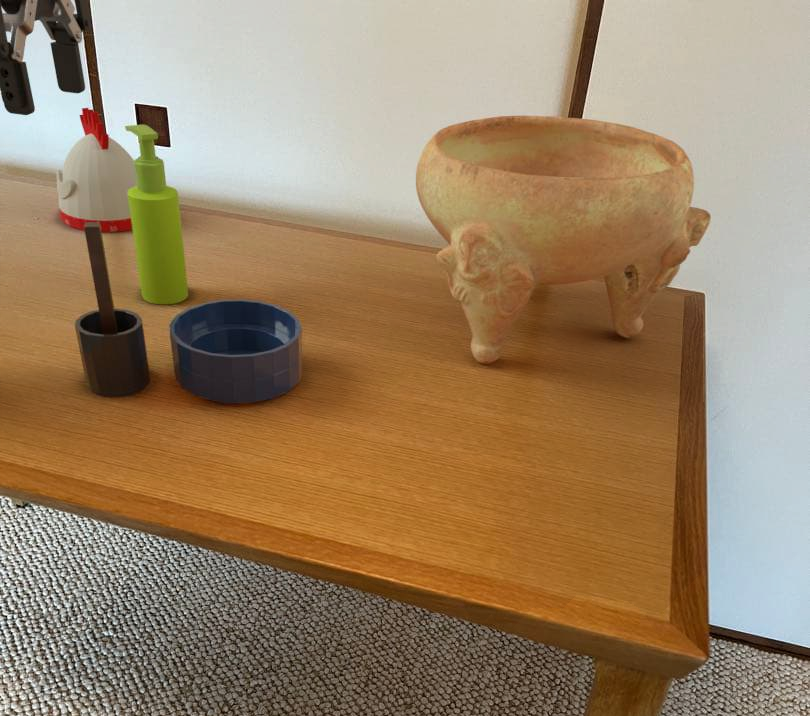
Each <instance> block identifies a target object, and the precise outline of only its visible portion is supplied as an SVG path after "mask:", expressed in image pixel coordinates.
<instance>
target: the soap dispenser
mask: <svg viewBox="0 0 810 716" xmlns="http://www.w3.org/2000/svg"><path fill="white" fill-rule="evenodd" d="M124 129H125V131H126V132H131V133H132V134H134V135H135V136H137V138H138V145H139V154H140V156H138V157H137V158H135V159H134V165H135V173H136V180H137V186H135V187H133V188H130V189H129V190H128V192H127V194H128V201H129V208H130V215H131V222H132V235H133V243H134V249H135V256H136V263H137V270H138V271H137V272H138V279H139V285H140V292H141V298H142V299H143V300H144V301H146V302H147V303H149V304H154V305H174V304H178V303H182V302H184V301H185V300H186V299H187V298H188V297H189V288H188V287H189V286H188V279H187V268H186V260H185V259H186V258H185V249H184V240H183V230H182V229H183V228H182V221H181V211H180V203H179V202H180V201H179V192H178V190H177V189H176V188H175V187H172V186H170V185H167V178H166V171H165V169H166V168H165V163H164V159H162V158H160V157H159V156H157V155H156V146H155V140H159V134H158V132H157V131H155V130H154V129H153V128H151V126H149V125H147V124H134V125H132V124H131V125H125V126H124Z"/></svg>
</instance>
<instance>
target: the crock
mask: <svg viewBox="0 0 810 716" xmlns="http://www.w3.org/2000/svg"><path fill="white" fill-rule="evenodd" d="M114 310H115V316H116V322H117V328H118V333H116V334H103V331H102V325H101V320H100V314H99V309H95V310H91V311H89V312H86V313H83V314H81V315H80V316H79V317H78V318H76V320H75V321H74V322H75V323H74V329H75V334H76V340H77V344H78V349H79V354H80V358H81V359H80V360H81V365H82V368H83V369H82V370H83V372H84V378H85V382H86V385H87V388H88V389H89V390H90V391H91V392H92V393H93V394H96V395H98V396H102V397H108V398H109V397H110V398H119V397H128V396H131V395H136V394H137V393H141V392H143V391H144V390H145V389H147V387H149V385H150V384H151V371H150V366H149V359H148V352H147V351H148V350H147V343H146V338H145V337H146V336H145V330H144V322H143V317H141V315H139V314H138V313H137V312H135V311H131V310H129V309H123V308H116V307H114Z"/></svg>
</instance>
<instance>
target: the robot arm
mask: <svg viewBox="0 0 810 716" xmlns="http://www.w3.org/2000/svg"><path fill="white" fill-rule="evenodd" d="M73 1H74V4H73V2H72V0H0V95H1V99H2V102H3V105H4V109H5V110H6V111H7V112H8V113H9V114H12V115H13V114H14V115H22V116H29V115H31V114H33V113H34V112H35V111H36V106H35V102H34V97H33V91H32V87H31V81H30V77H29V72H28V67H27V61H23V60H24V56H25V47H26V41H27V40H26V39H27V37H28V36H29V35H31V34H32V33H33V32H34V27H35V22H36V21H39V22H40V23H41V24H42V26H43V27H44V29H45V31H46V33H47V35H48V36H49V38H50V40H52V41H51V42H50V48H51V54H52V60H53V65H54V71H55V76H56V82H57V87H58V89H59V90H60V91H61V92H64V93H70V94H81V93H83V92H84V91H86V82H85V77H84V71H83V65H82V64H83V63H82V59H81V58H82V57H81V53H80V52H81V51H80V46H79V44H81V43H82V41H83V32H90V30H91V27H92V25H91V24H92V23H91V18H90V13H89V7H88V1H87V0H73ZM74 5H75V6H74ZM75 10H76V13H75ZM3 11H4V12H3ZM7 33H10V36H9V41H8V36H7Z"/></svg>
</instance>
